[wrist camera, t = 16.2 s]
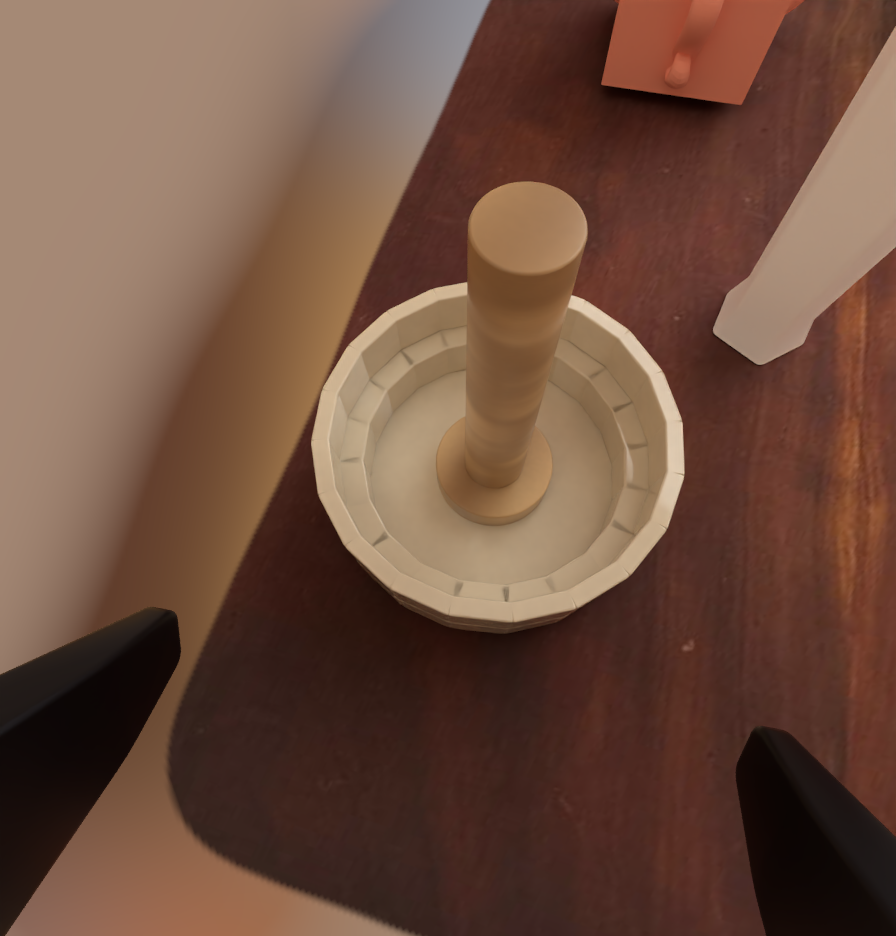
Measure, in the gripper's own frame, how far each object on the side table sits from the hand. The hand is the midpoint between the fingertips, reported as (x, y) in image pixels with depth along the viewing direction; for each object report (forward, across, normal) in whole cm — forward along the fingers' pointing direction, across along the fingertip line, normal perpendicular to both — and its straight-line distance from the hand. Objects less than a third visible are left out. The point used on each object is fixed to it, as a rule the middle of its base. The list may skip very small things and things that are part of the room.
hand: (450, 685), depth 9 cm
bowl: (+14, 0, +3) cm, 15 cm away
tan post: (+14, 0, +3) cm, 14 cm away
